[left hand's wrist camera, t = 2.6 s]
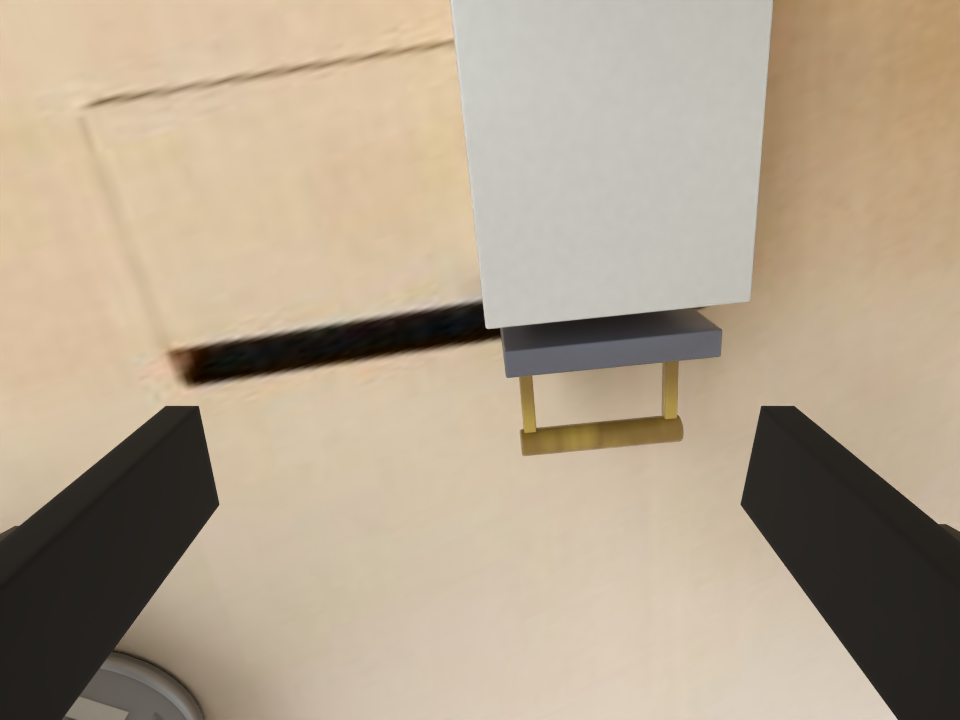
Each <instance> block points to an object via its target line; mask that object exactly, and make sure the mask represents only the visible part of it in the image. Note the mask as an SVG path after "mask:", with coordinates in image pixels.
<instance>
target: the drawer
mask: <svg viewBox="0 0 960 720" xmlns="http://www.w3.org/2000/svg"><path fill="white" fill-rule="evenodd" d="M500 332H501V340H502V348H503V356H504V364H505V372H506V377H507V378H511V377H519V382H520V393H521V404H522V416H523V427H524V429H521V430H520V440H521V449H522V455H523V456H531V455H541V454H552V453H562V452H573V451H584V450H594V449H605V448H615V447H626V446H636V445H647V444H657V443H668V442H678V441H681V440H682V439H683V425H682V421H681V419H680V417H679V416H678V415H677V400H678V364H679V361H681V360H691V359H701V358H710V357H719V356H720V355H721V341H722V329H720V328H719V327H718V326H716V325H715V324H714V323H712V322H711V321H709V320H708V319H707V318H705V317H704V316H703V315H701V314H700V313H699V312H697V311H696V310H695V309H693V308H686V309H676V310H666V311H657V312H647V313H637V314H628V315H618V316H608V317H599V318H589V319H579V320H570V321H560V322H550V323H541V324H531V325H521V326H512V327H502V328H500ZM661 362H663V369H662V415H663V416H654V417H644V418H633V419H623V420H613V421H602V422H592V423H582V424H571V425H561V426H551V427H540V428H536V419H535V407H534V394H533V381H532V375H541V374H551V373H561V372H571V371H581V370H591V369H601V368H611V367H621V366H631V365H641V364H651V363H661Z"/></svg>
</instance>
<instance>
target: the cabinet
mask: <svg viewBox="0 0 960 720" xmlns="http://www.w3.org/2000/svg"><path fill="white" fill-rule="evenodd" d="M450 5H451V14H452V23H453V32H454V41H455V51H456V60H457V69H458V78H459V87H460V96H461V106H462V115H463V124H464V133H465V142H466V151H467V161H468V170H469V179H470V188H471V197H472V207H473V216H474V225H475V234H476V243H477V252H478V262H479V271H480V280H481V289H482V298H483V307H484V317H485V326H486V328H487V329H493V328H502V327H512V326H521V325H531V324H541V323H550V322H560V321H570V320H579V319H589V318H599V317H608V316H618V315H628V314H637V313H647V312H657V311H666V310H676V309H686V308H695V307H705V306H715V305H724V304H734V303H744V302H749V301H750V299H751V286H752V273H753V260H754V247H755V234H756V221H757V207H758V194H759V181H760V168H761V155H762V142H763V129H764V116H765V103H766V90H767V76H768V63H769V50H770V37H771V24H772V11H773V0H450Z"/></svg>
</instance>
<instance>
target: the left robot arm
mask: <svg viewBox="0 0 960 720" xmlns="http://www.w3.org/2000/svg"><path fill="white" fill-rule="evenodd" d="M218 506H219V500H218V496H217V491H216V486H215V481H214V477H213V472H212V467H211V462H210V458H209V453H208V448H207V443H206V439H205V434H204V429H203V424H202V420H201V415H200V410H199V406H165V407H164V408H163V409H162V410H160V411H159V412H158V413H157V414H156V415H154V416H153V417H152V418H151V419H149V420H148V421H147V422H146V423H145V424H143V425H142V426H141V427H140V428H138V429H137V430H136V431H135V432H134V433H132V434H131V435H130V436H129V437H127V438H126V439H125V440H124V441H123V442H121V443H120V444H119V445H118V446H117V447H115V448H114V449H113V450H112V451H110V452H109V453H108V454H107V455H106V456H104V457H103V458H102V459H101V460H99V461H98V462H97V463H96V464H95V465H93V466H92V467H91V468H90V469H88V470H87V471H86V472H85V473H84V474H82V475H81V476H80V477H79V478H77V479H76V480H75V481H74V482H73V483H71V484H70V485H69V486H68V487H66V488H65V489H64V490H63V491H62V492H60V493H59V494H58V495H57V496H56V497H54V498H53V499H52V500H51V501H49V502H48V503H47V504H46V505H45V506H43V507H42V508H41V509H40V510H38V511H37V512H36V513H35V514H34V515H32V516H31V517H30V518H29V519H27V520H26V521H25V522H24V523H23V524H21V525H20V526H14V527H12V528H10V529H9V530H7V531H5V532H3V533H1V534H0V720H204V718H203V715H202V712H201V710H200V708H199V706H198V704H197V703H196V701H195V700H194V698H193V697H192V696H191V694H190V693H189V692H188V691H187V690H186V689H185V688H184V687H183V686H182V685H181V684H180V683H179V682H178V681H176V680H175V679H174V678H173V677H171V676H170V675H168V674H167V673H165V672H164V671H162V670H160V669H159V668H157V667H155V666H153V665H151V664H149V663H147V662H144V661H142V660H140V659H137V658H134V657H131V656H128V655H124V654H120V653H116V652H112V651H113V649H114V648H115V647H116V645H117V644H118V643H119V641H120V640H121V638H122V637H123V636H124V634H125V633H126V632H127V630H128V629H129V627H130V626H131V625H132V623H133V622H134V621H135V619H136V618H137V617H138V615H139V614H140V612H141V611H142V610H143V608H144V607H145V606H146V604H147V603H148V602H149V600H150V599H151V597H152V596H153V595H154V593H155V592H156V591H157V589H158V588H159V586H160V585H161V584H162V582H163V581H164V580H165V578H166V577H167V576H168V574H169V573H170V571H171V570H172V569H173V567H174V566H175V565H176V563H177V562H178V561H179V559H180V558H181V556H182V555H183V554H184V552H185V551H186V550H187V548H188V547H189V545H190V544H191V543H192V541H193V540H194V539H195V537H196V536H197V535H198V533H199V532H200V530H201V529H202V528H203V526H204V525H205V524H206V522H207V521H208V520H209V518H210V517H211V515H212V514H213V513H214V511H215V510H216V509H217V507H218ZM741 506H742V507H743V509H744V510H745V511H746V513H747V514H748V515H749V517H750V518H751V520H752V521H753V522H754V524H755V525H756V526H757V528H758V529H759V530H760V532H761V533H762V535H763V536H764V537H765V539H766V540H767V541H768V543H769V544H770V545H771V547H772V548H773V550H774V551H775V552H776V554H777V555H778V556H779V558H780V559H781V561H782V562H783V563H784V565H785V566H786V567H787V569H788V570H789V571H790V573H791V574H792V576H793V577H794V578H795V580H796V581H797V582H798V584H799V585H800V586H801V588H802V589H803V591H804V592H805V593H806V595H807V596H808V597H809V599H810V600H811V602H812V603H813V604H814V606H815V607H816V608H817V610H818V611H819V612H820V614H821V615H822V617H823V618H824V619H825V621H826V622H827V623H828V625H829V626H830V627H831V629H832V630H833V632H834V633H835V634H836V636H837V637H838V638H839V640H840V641H841V643H842V644H843V645H844V647H845V648H846V649H847V651H848V652H849V653H850V655H851V656H852V658H853V659H854V660H855V662H856V663H857V664H858V666H859V667H860V668H861V670H862V671H863V673H864V674H865V675H866V677H867V678H868V679H869V681H870V682H871V684H872V685H873V686H874V688H875V689H876V690H877V692H878V693H879V694H880V696H881V697H882V699H883V700H884V701H885V703H886V704H887V705H888V707H889V708H890V709H891V711H892V712H893V714H894V715H895V716H896V718H897V719H898V720H960V532H959V531H957V530H956V529H954V528H952V527H950V526H948V525H946V524H937V523H936V522H935V521H934V520H933V519H931V518H930V517H929V516H928V515H926V514H925V513H924V512H923V511H922V510H920V509H919V508H918V507H917V506H915V505H914V504H913V503H912V502H911V501H909V500H908V499H907V498H906V497H904V496H903V495H902V494H901V493H900V492H898V491H897V490H896V489H895V488H894V487H892V486H891V485H890V484H889V483H887V482H886V481H885V480H884V479H883V478H881V477H880V476H879V475H878V474H876V473H875V472H874V471H873V470H872V469H870V468H869V467H868V466H867V465H865V464H864V463H863V462H862V461H861V460H859V459H858V458H857V457H856V456H854V455H853V454H852V453H851V452H850V451H848V450H847V449H846V448H845V447H843V446H842V445H841V444H840V443H839V442H837V441H836V440H835V439H834V438H833V437H831V436H830V435H829V434H828V433H826V432H825V431H824V430H823V429H822V428H820V427H819V426H818V425H817V424H815V423H814V422H813V421H812V420H811V419H809V418H808V417H807V416H806V415H804V414H803V413H802V412H801V411H800V410H798V409H797V408H796V407H795V406H761V410H760V415H759V420H758V424H757V429H756V434H755V439H754V443H753V448H752V453H751V458H750V462H749V467H748V472H747V477H746V481H745V486H744V491H743V496H742V500H741Z"/></svg>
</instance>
